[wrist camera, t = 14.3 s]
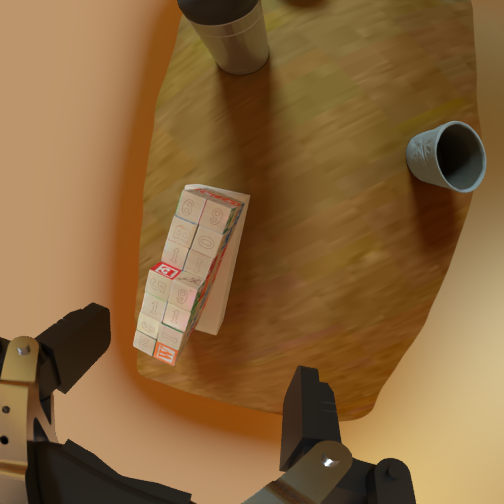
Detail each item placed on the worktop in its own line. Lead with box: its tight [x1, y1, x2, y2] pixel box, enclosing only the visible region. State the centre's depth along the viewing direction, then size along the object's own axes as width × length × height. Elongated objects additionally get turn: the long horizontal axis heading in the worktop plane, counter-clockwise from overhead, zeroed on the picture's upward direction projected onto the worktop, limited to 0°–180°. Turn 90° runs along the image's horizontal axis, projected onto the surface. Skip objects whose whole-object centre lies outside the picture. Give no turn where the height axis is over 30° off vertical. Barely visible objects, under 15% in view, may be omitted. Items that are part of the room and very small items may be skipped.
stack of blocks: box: [133, 188, 245, 366], centre depth 36 cm, size 21×6×12 cm, turn 158°
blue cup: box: [406, 121, 486, 193], centre depth 33 cm, size 10×10×12 cm
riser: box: [185, 184, 250, 335], centre depth 45 cm, size 23×9×6 cm, turn 167°
